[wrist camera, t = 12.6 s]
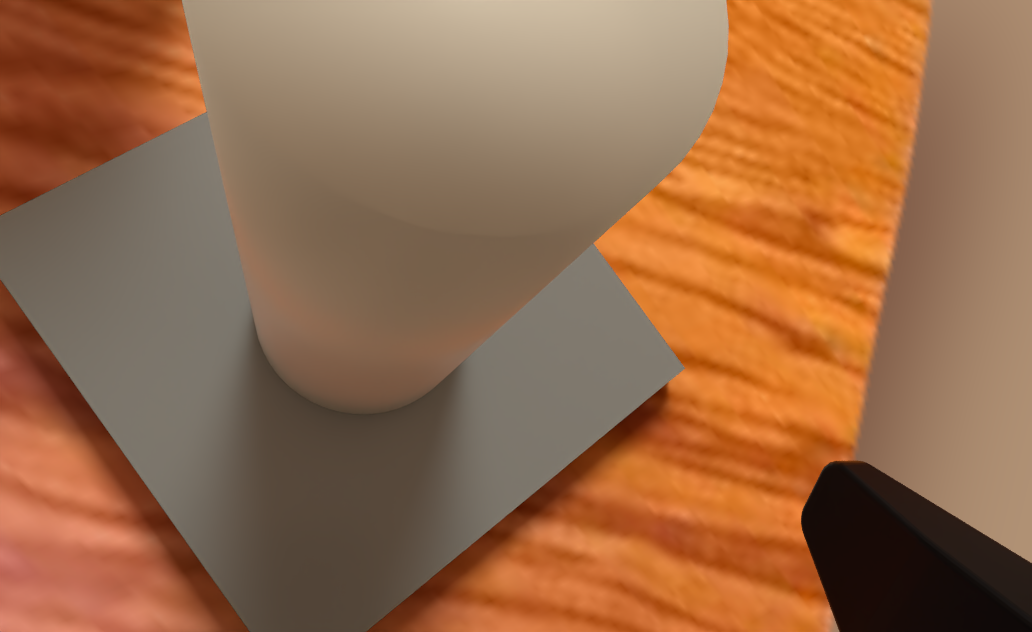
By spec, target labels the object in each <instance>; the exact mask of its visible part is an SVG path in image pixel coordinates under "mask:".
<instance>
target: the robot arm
mask: <svg viewBox="0 0 1032 632" xmlns="http://www.w3.org/2000/svg"><path fill="white" fill-rule="evenodd" d="M801 525H802V531H803V534H804V537H805V539H806V542H807V545H808V548H809V550H810V553H811V556H812V558H813V561H814V564H815V566H816V569H817V572H818V575H819V577H820V580H821V583H822V585H823V588H824V591H825V594H826V596H827V599H828V602H829V604H830V607H831V610H832V612H833V615H834V618H835V621H836V623H837V626H838V629H839V631H840V632H1032V563H1030V562H1029V561H1027V560H1025V559H1024V558H1022V557H1021V556H1019V555H1017V554H1016V553H1014V552H1012V551H1011V550H1009V549H1007V548H1006V547H1004V546H1003V545H1001V544H999V543H998V542H996V541H994V540H993V539H991V538H989V537H988V536H986V535H984V534H983V533H981V532H979V531H978V530H976V529H975V528H973V527H971V526H970V525H968V524H966V523H965V522H963V521H962V520H960V519H958V518H957V517H955V516H953V515H952V514H950V513H948V512H947V511H945V510H943V509H942V508H940V507H939V506H937V505H935V504H934V503H932V502H930V501H929V500H927V499H925V498H924V497H922V496H921V495H919V494H917V493H916V492H914V491H912V490H911V489H909V488H908V487H906V486H904V485H903V484H901V483H899V482H898V481H896V480H894V479H893V478H891V477H890V476H888V475H886V474H885V473H883V472H881V471H880V470H878V469H876V468H875V467H873V466H871V465H870V464H868V463H865V462H863V461H833V462H830V463H829V464H828V465H826V466H825V467H824V469H823V470H822V472H821V474H820V476H819V478H818V480H817V482H816V484H815V486H814V488H813V490H812V492H811V494H810V496H809V498H808V500H807V502H806V504H805V506H804V508H803V511H802V515H801Z"/></svg>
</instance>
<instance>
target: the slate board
mask: <svg viewBox="0 0 1032 632" xmlns="http://www.w3.org/2000/svg"><path fill="white" fill-rule="evenodd" d="M0 280H1V281H2V282H3V284H4V285H5V287H6V288H7V289H8V291H9V292H10V294H11V295H12V296H13V298H14V299H15V301H16V302H17V304H18V305H19V306H20V308H21V309H22V311H23V312H24V313H25V315H26V316H27V318H28V319H29V320H30V322H31V323H32V325H33V326H34V328H35V329H36V330H37V332H38V333H39V335H40V336H41V337H42V339H43V340H44V342H45V343H46V345H47V346H48V347H49V349H50V350H51V352H52V353H53V354H54V356H55V357H56V359H57V360H58V361H59V363H60V364H61V366H62V367H63V369H64V370H65V371H66V373H67V374H68V376H69V377H70V378H71V380H72V381H73V383H74V384H75V385H76V387H77V388H78V390H79V391H80V393H81V394H82V395H83V397H84V398H85V400H86V401H87V402H88V404H89V405H90V407H91V408H92V409H93V411H94V412H95V414H96V415H97V417H98V418H99V419H100V421H101V422H102V424H103V425H104V426H105V428H106V429H107V431H108V432H109V434H110V435H111V436H112V438H113V439H114V441H115V442H116V443H117V445H118V446H119V448H120V449H121V450H122V452H123V453H124V455H125V456H126V458H127V459H128V460H129V462H130V463H131V465H132V466H133V467H134V469H135V470H136V472H137V473H138V474H139V476H140V477H141V479H142V480H143V482H144V483H145V484H146V486H147V487H148V489H149V490H150V491H151V493H152V494H153V496H154V497H155V498H156V500H157V501H158V503H159V504H160V506H161V507H162V508H163V510H164V511H165V513H166V514H167V515H168V517H169V518H170V520H171V521H172V523H173V524H174V525H175V527H176V528H177V530H178V531H179V532H180V534H181V535H182V537H183V538H184V539H185V541H186V542H187V544H188V545H189V547H190V548H191V549H192V551H193V552H194V554H195V555H196V556H197V558H198V559H199V561H200V562H201V563H202V565H203V566H204V568H205V569H206V571H207V572H208V573H209V575H210V576H211V578H212V579H213V580H214V582H215V583H216V585H217V586H218V587H219V589H220V590H221V592H222V593H223V595H224V596H225V597H226V599H227V600H228V602H229V603H230V604H231V606H232V607H233V609H234V610H235V612H236V613H237V614H238V616H239V617H240V619H241V620H242V621H243V623H244V624H245V626H246V627H247V628H248V630H249V631H250V632H366V631H368V630H369V629H370V628H371V627H372V626H374V625H375V624H376V623H377V622H378V621H380V620H381V619H382V618H383V617H384V616H386V615H387V614H388V613H389V612H391V611H392V610H393V609H394V608H395V607H397V606H398V605H399V604H400V603H401V602H403V601H404V600H405V599H406V598H407V597H409V596H410V595H411V594H412V593H414V592H415V591H416V590H417V589H418V588H420V587H421V586H422V585H423V584H424V583H426V582H427V581H428V580H429V579H430V578H432V577H433V576H434V575H435V574H437V573H438V572H439V571H440V570H441V569H443V568H444V567H445V566H446V565H447V564H449V563H450V562H451V561H452V560H453V559H455V558H456V557H457V556H458V555H460V554H461V553H462V552H463V551H464V550H466V549H467V548H468V547H469V546H470V545H472V544H473V543H474V542H475V541H477V540H478V539H479V538H480V537H481V536H483V535H484V534H485V533H486V532H487V531H489V530H490V529H491V528H492V527H493V526H495V525H496V524H497V523H498V522H500V521H501V520H502V519H503V518H504V517H506V516H507V515H508V514H509V513H510V512H512V511H513V510H514V509H515V508H516V507H518V506H519V505H520V504H521V503H523V502H524V501H525V500H526V499H527V498H529V497H530V496H531V495H532V494H533V493H535V492H536V491H537V490H538V489H539V488H541V487H542V486H543V485H544V484H546V483H547V482H548V481H549V480H550V479H552V478H553V477H554V476H555V475H556V474H558V473H559V472H560V471H561V470H562V469H564V468H565V467H566V466H567V465H569V464H570V463H571V462H572V461H573V460H575V459H576V458H577V457H578V456H579V455H581V454H582V453H583V452H584V451H585V450H587V449H588V448H589V447H590V446H592V445H593V444H594V443H595V442H596V441H598V440H599V439H600V438H601V437H602V436H604V435H605V434H606V433H607V432H608V431H610V430H611V429H612V428H613V427H615V426H616V425H617V424H618V423H619V422H621V421H622V420H623V419H624V418H625V417H627V416H628V415H629V414H630V413H631V412H633V411H634V410H635V409H636V408H638V407H639V406H640V405H641V404H642V403H644V402H645V401H646V400H647V399H648V398H650V397H651V396H652V395H653V394H654V393H656V392H657V391H658V390H659V389H661V388H662V387H663V386H664V385H665V384H667V383H668V382H669V381H670V380H671V379H673V378H674V377H675V376H676V375H677V374H679V373H680V372H681V371H682V370H684V369H685V368H684V366H683V365H682V364H681V362H680V361H679V360H678V358H677V357H676V355H675V354H674V353H673V351H672V350H671V349H670V347H669V346H668V345H667V343H666V342H665V340H664V339H663V338H662V336H661V335H660V334H659V332H658V331H657V330H656V328H655V327H654V325H653V324H652V323H651V321H650V320H649V319H648V317H647V316H646V315H645V313H644V312H643V310H642V309H641V308H640V306H639V305H638V304H637V302H636V301H635V300H634V298H633V297H632V295H631V294H630V293H629V291H628V290H627V289H626V287H625V286H624V285H623V283H622V282H621V280H620V279H619V278H618V276H617V275H616V274H615V272H614V271H613V270H612V268H611V267H610V265H609V264H608V263H607V261H606V260H605V259H604V257H603V256H602V255H601V253H600V252H599V250H598V249H597V248H596V246H595V245H594V244H592V245H591V246H590V247H588V248H587V249H586V250H585V251H584V252H583V253H582V254H581V255H580V256H579V257H577V258H576V259H575V260H574V261H573V262H572V263H571V264H570V265H569V266H568V267H566V268H565V269H564V270H563V271H562V272H561V273H560V274H559V275H558V276H557V277H555V278H554V279H553V280H552V281H551V282H550V283H549V284H548V285H547V286H546V287H544V288H543V289H542V290H541V291H540V292H539V293H538V294H537V295H536V296H535V297H533V298H532V299H531V300H530V301H529V302H528V303H527V304H526V305H525V306H524V307H522V308H521V309H520V310H519V311H518V312H517V313H516V314H515V315H514V316H513V317H511V318H510V319H509V320H508V321H507V322H506V323H505V324H504V325H503V326H502V327H500V328H499V329H498V330H497V331H496V332H495V333H494V334H493V335H492V336H491V337H489V338H488V339H487V340H486V341H485V342H484V343H483V344H482V345H481V346H480V347H478V348H477V349H476V350H475V351H474V352H473V353H472V354H471V355H470V356H469V357H467V358H466V359H465V360H464V361H463V362H462V363H461V364H460V365H459V366H457V367H456V368H455V369H454V370H453V371H452V372H451V373H450V374H449V375H448V376H446V377H445V378H444V379H443V380H442V381H441V382H440V383H439V384H438V385H437V386H435V387H434V388H433V389H432V390H431V391H429V392H428V393H427V394H425V395H424V396H423V397H421V398H419V399H418V400H416V401H414V402H412V403H411V404H408V405H406V406H403V407H401V408H398V409H395V410H391V411H387V412H383V413H375V414H350V413H343V412H338V411H334V410H331V409H327V408H324V407H322V406H320V405H317V404H315V403H313V402H311V401H309V400H307V399H306V398H304V397H302V396H301V395H299V394H298V393H297V392H295V391H294V390H293V389H291V388H290V387H289V386H288V385H287V384H286V383H285V382H284V381H283V380H282V379H281V378H280V377H279V376H278V375H277V373H276V372H275V371H274V369H273V368H272V366H271V365H270V363H269V362H268V360H267V358H266V356H265V354H264V353H263V350H262V347H261V345H260V342H259V340H258V336H257V331H256V327H255V322H254V318H253V314H252V309H251V305H250V300H249V296H248V291H247V287H246V283H245V278H244V274H243V269H242V265H241V260H240V256H239V252H238V247H237V243H236V238H235V234H234V229H233V225H232V221H231V216H230V212H229V207H228V203H227V198H226V194H225V190H224V185H223V181H222V176H221V172H220V167H219V163H218V159H217V154H216V150H215V145H214V141H213V136H212V132H211V128H210V123H209V119H208V114H207V112H206V113H204V114H202V115H200V116H198V117H196V118H194V119H192V120H190V121H188V122H186V123H184V124H182V125H180V126H178V127H176V128H174V129H172V130H170V131H168V132H166V133H164V134H162V135H160V136H158V137H156V138H154V139H152V140H150V141H148V142H146V143H144V144H142V145H140V146H138V147H136V148H134V149H132V150H130V151H128V152H126V153H124V154H122V155H120V156H118V157H116V158H114V159H112V160H110V161H108V162H106V163H104V164H102V165H100V166H98V167H96V168H94V169H92V170H90V171H88V172H86V173H84V174H82V175H80V176H78V177H76V178H74V179H72V180H70V181H68V182H66V183H64V184H62V185H60V186H58V187H56V188H54V189H52V190H50V191H48V192H46V193H44V194H42V195H40V196H38V197H36V198H34V199H32V200H30V201H28V202H26V203H24V204H22V205H20V206H18V207H16V208H14V209H12V210H10V211H8V212H6V213H4V214H2V215H0Z"/></svg>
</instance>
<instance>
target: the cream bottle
mask: <svg viewBox="0 0 1032 632" xmlns="http://www.w3.org/2000/svg"><path fill="white" fill-rule="evenodd" d="M182 4H183V8H184V13H185V17H186V21H187V26H188V30H189V35H190V39H191V44H192V48H193V52H194V57H195V61H196V66H197V70H198V74H199V79H200V83H201V88H202V92H203V97H204V101H205V105H206V110H207V114H208V119H209V123H210V128H211V132H212V136H213V141H214V145H215V150H216V154H217V159H218V163H219V167H220V172H221V176H222V181H223V185H224V190H225V194H226V198H227V203H228V207H229V212H230V216H231V221H232V225H233V229H234V234H235V238H236V243H237V247H238V252H239V256H240V260H241V265H242V269H243V274H244V278H245V283H246V287H247V291H248V296H249V300H250V305H251V309H252V314H253V318H254V322H255V327H256V331H257V336H258V340H259V342H260V345H261V347H262V350H263V353H264V354H265V356H266V358H267V360H268V362H269V363H270V365H271V366H272V368H273V369H274V371H275V372H276V373H277V375H278V376H279V377H280V378H281V379H282V380H283V381H284V382H285V383H286V384H287V385H288V386H289V387H290V388H291V389H293V390H294V391H295V392H297V393H298V394H299V395H301V396H302V397H304V398H306V399H307V400H309V401H311V402H313V403H315V404H317V405H320V406H322V407H324V408H327V409H331V410H334V411H338V412H343V413H350V414H375V413H383V412H387V411H391V410H395V409H398V408H401V407H403V406H406V405H408V404H411V403H412V402H414V401H416V400H418V399H419V398H421V397H423V396H424V395H425V394H427V393H428V392H429V391H431V390H432V389H433V388H434V387H435V386H437V385H438V384H439V383H440V382H441V381H442V380H443V379H444V378H445V377H446V376H448V375H449V374H450V373H451V372H452V371H453V370H454V369H455V368H456V367H457V366H459V365H460V364H461V363H462V362H463V361H464V360H465V359H466V358H467V357H469V356H470V355H471V354H472V353H473V352H474V351H475V350H476V349H477V348H478V347H480V346H481V345H482V344H483V343H484V342H485V341H486V340H487V339H488V338H489V337H491V336H492V335H493V334H494V333H495V332H496V331H497V330H498V329H499V328H500V327H502V326H503V325H504V324H505V323H506V322H507V321H508V320H509V319H510V318H511V317H513V316H514V315H515V314H516V313H517V312H518V311H519V310H520V309H521V308H522V307H524V306H525V305H526V304H527V303H528V302H529V301H530V300H531V299H532V298H533V297H535V296H536V295H537V294H538V293H539V292H540V291H541V290H542V289H543V288H544V287H546V286H547V285H548V284H549V283H550V282H551V281H552V280H553V279H554V278H555V277H557V276H558V275H559V274H560V273H561V272H562V271H563V270H564V269H565V268H566V267H568V266H569V265H570V264H571V263H572V262H573V261H574V260H575V259H576V258H577V257H579V256H580V255H581V254H582V253H583V252H584V251H585V250H586V249H587V248H588V247H590V246H591V245H592V244H593V243H594V242H595V241H596V240H597V239H598V238H599V237H601V236H602V235H603V234H604V233H605V232H606V231H607V230H608V229H609V228H610V227H612V226H613V225H614V224H615V223H616V222H617V221H618V220H619V219H620V218H621V217H623V216H624V215H625V214H626V213H627V212H628V211H629V210H630V209H631V208H632V207H634V206H635V205H636V204H637V203H638V202H639V201H640V200H641V199H642V198H643V197H645V196H646V195H647V194H648V193H649V192H650V191H651V190H652V189H653V188H654V187H656V186H657V185H658V184H659V183H660V182H661V181H662V180H663V179H664V178H665V177H666V176H667V175H668V174H669V173H670V172H671V171H672V170H673V169H674V168H675V167H676V166H677V165H678V164H679V163H680V162H681V161H682V160H683V159H684V157H685V156H686V154H687V153H688V152H689V150H690V149H691V148H692V146H693V145H694V144H695V142H696V141H697V140H698V138H699V137H700V135H701V133H702V131H703V129H704V127H705V125H706V123H707V121H708V119H709V117H710V116H711V114H712V112H713V109H714V106H715V103H716V100H717V97H718V94H719V91H720V89H721V86H722V82H723V77H724V71H725V65H726V60H727V54H728V27H729V25H728V14H727V4H726V0H182Z"/></svg>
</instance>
